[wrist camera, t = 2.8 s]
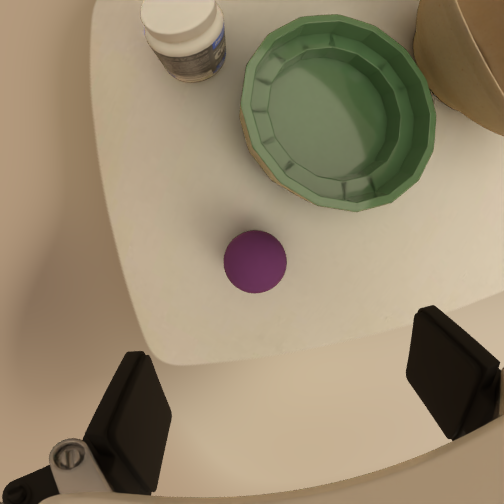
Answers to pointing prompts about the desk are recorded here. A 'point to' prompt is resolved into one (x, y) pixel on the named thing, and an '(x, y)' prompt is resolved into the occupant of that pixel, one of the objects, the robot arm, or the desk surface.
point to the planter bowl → (464, 56)
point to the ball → (255, 261)
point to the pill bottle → (186, 36)
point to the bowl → (337, 113)
